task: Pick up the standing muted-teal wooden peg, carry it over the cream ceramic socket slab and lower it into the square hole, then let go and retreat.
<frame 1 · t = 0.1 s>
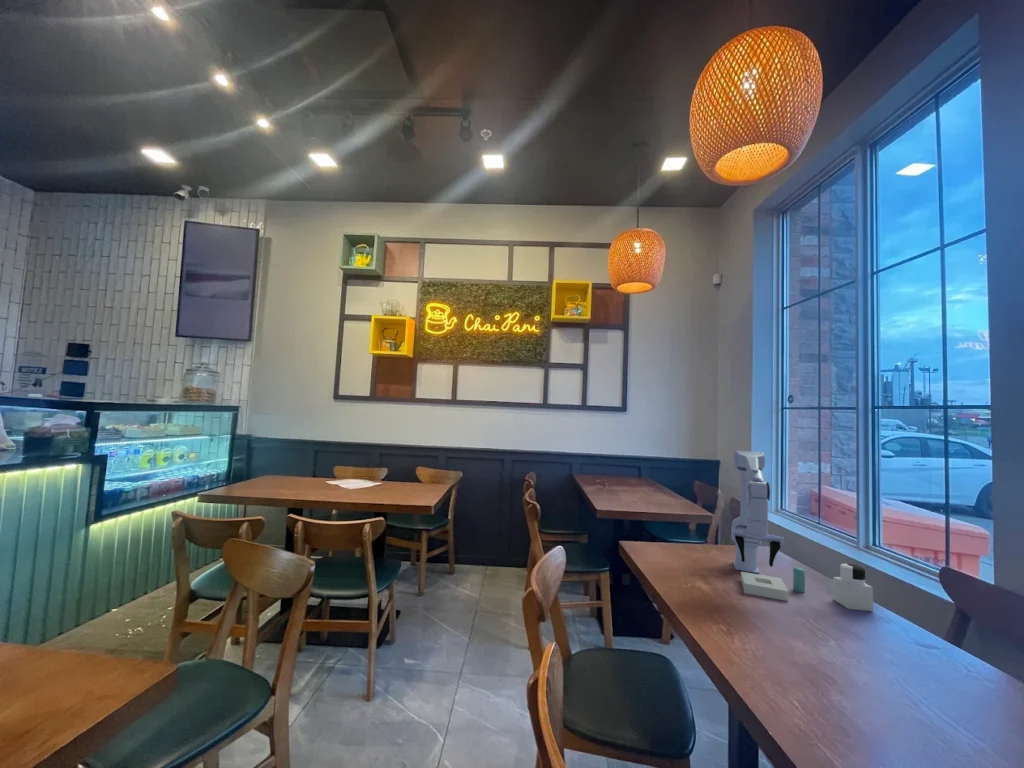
hand: (756, 563, 136), 10 cm above the table, fingers open, 7 cm apart
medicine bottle: (852, 606, 132), on the table
socket slab: (763, 590, 141), on the table
peg: (798, 590, 142), on the table
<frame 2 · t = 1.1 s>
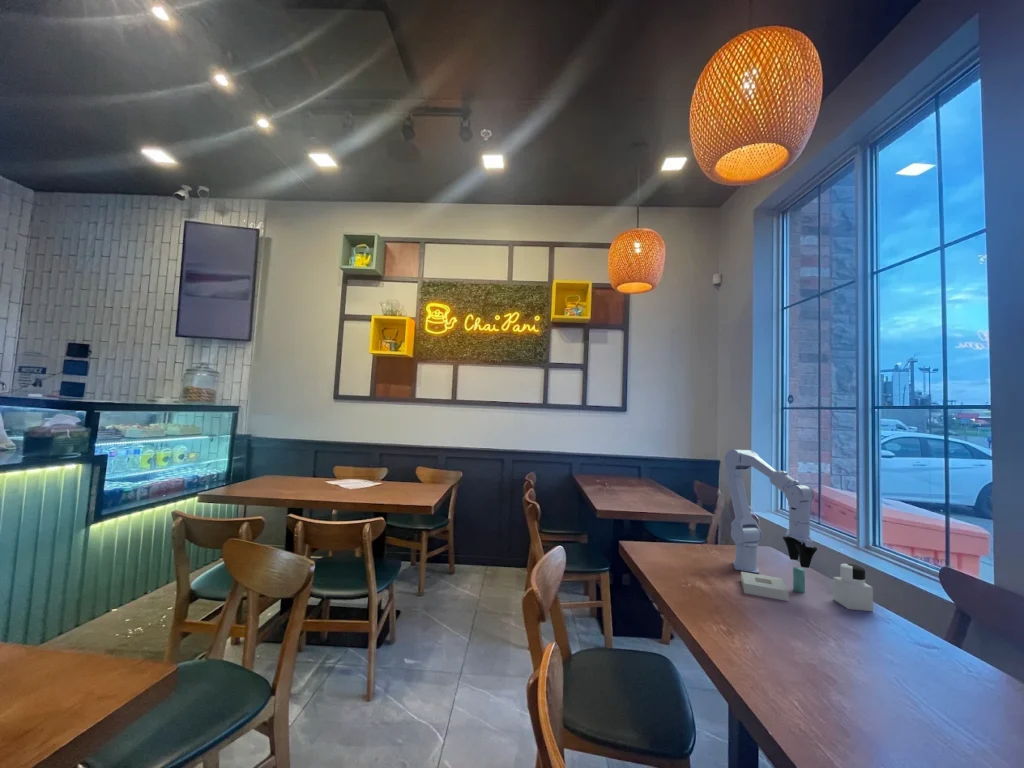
hand: (799, 563, 143), 9 cm above the table, fingers open, 7 cm apart
nothing on the table moved.
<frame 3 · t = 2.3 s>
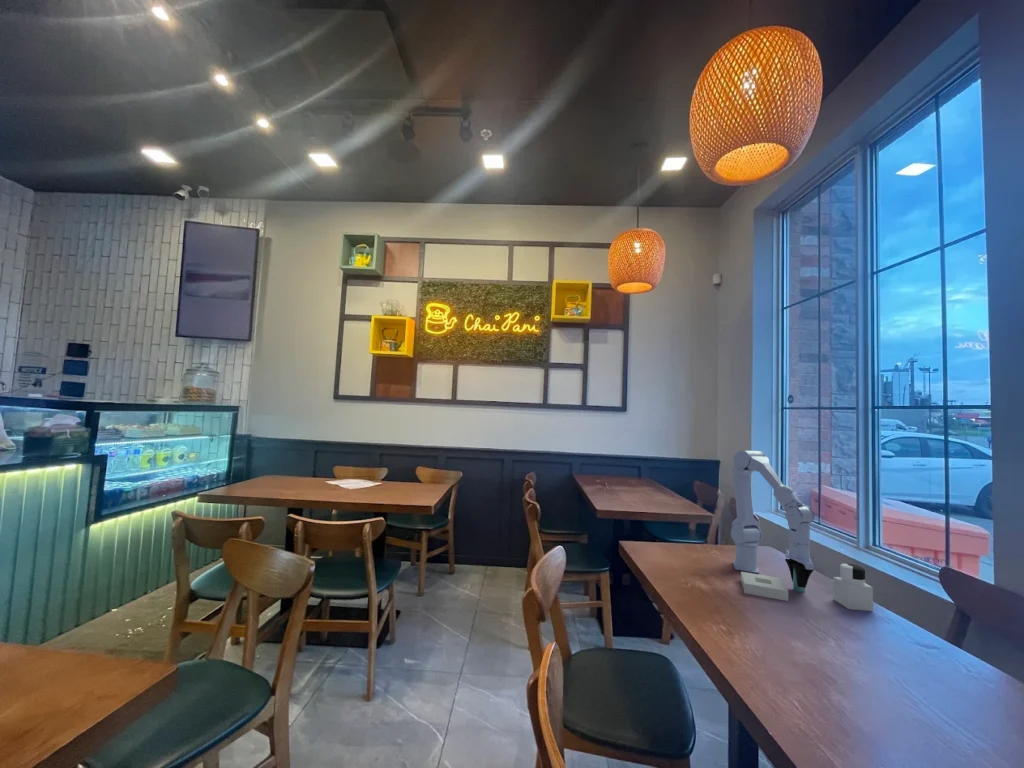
hand: (799, 584, 142), 2 cm above the table, fingers closed on peg, 3 cm apart
peg: (798, 590, 142), on the table, touching gripper
everything else where it was.
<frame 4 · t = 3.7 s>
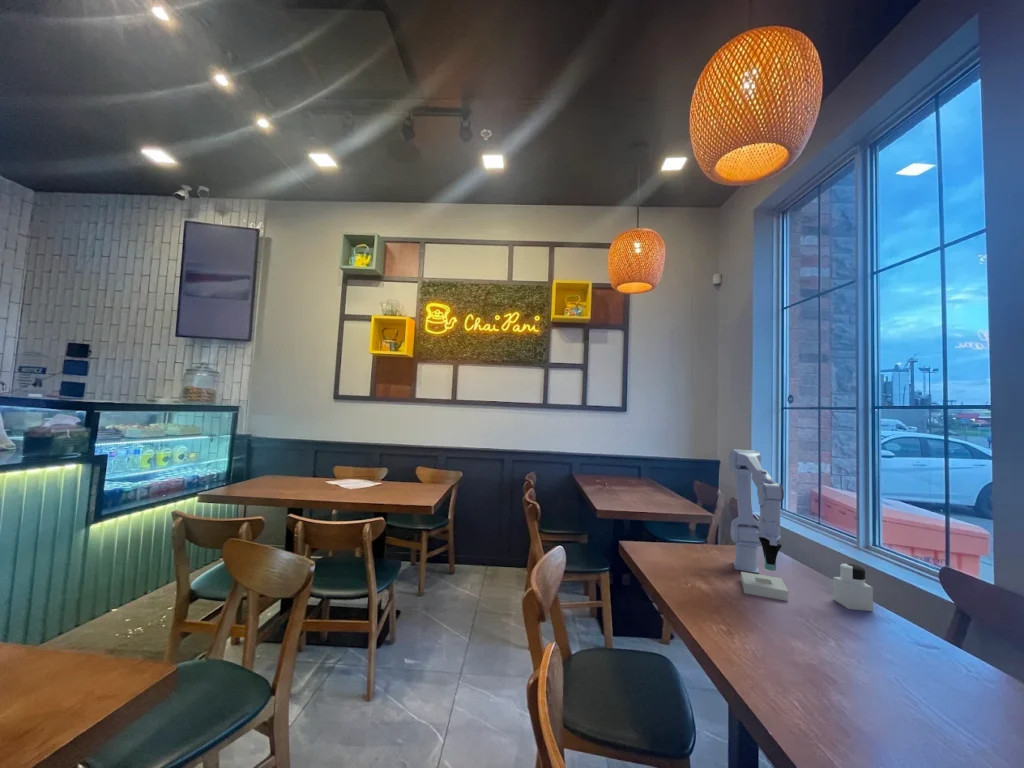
hand: (769, 562, 142), 9 cm above the table, fingers closed on peg, 3 cm apart
peg: (770, 568, 141), point 7 cm above the table, touching gripper
everything else where it was.
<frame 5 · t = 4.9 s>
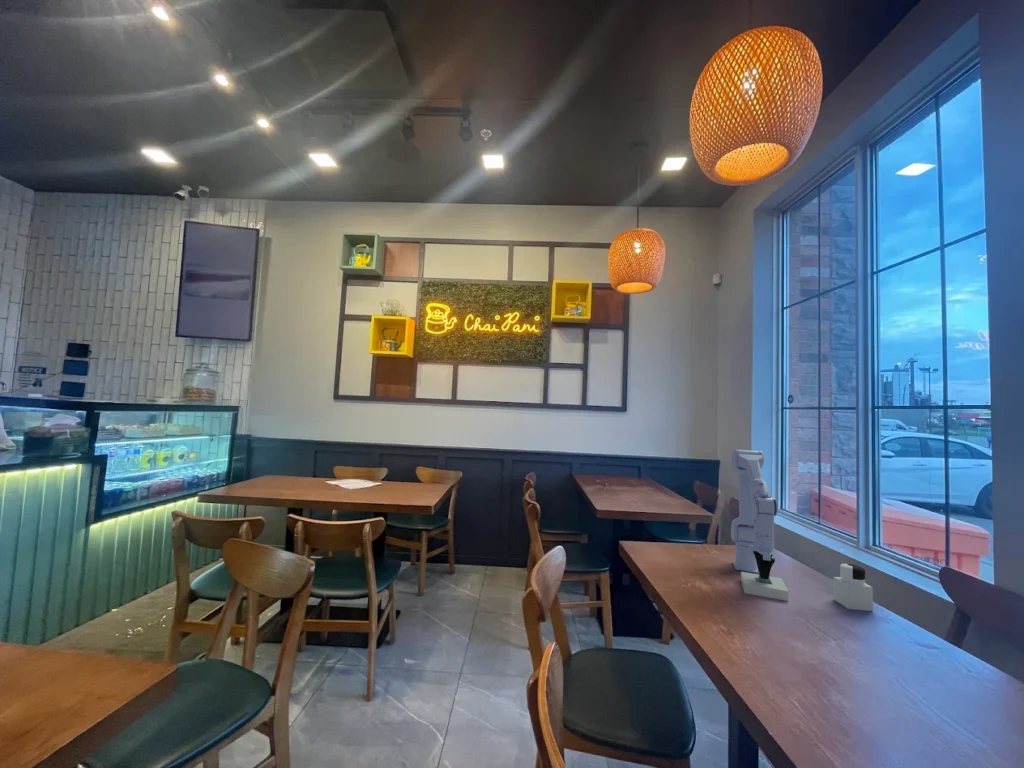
hand: (763, 576, 141), 4 cm above the table, fingers closed on peg, 3 cm apart
peg: (764, 583, 141), point 2 cm above the table, touching gripper
everything else where it was.
when the fingers open (4 cm above the table, at t = 5.4 s): peg drops 2 cm, resting in socket slab.
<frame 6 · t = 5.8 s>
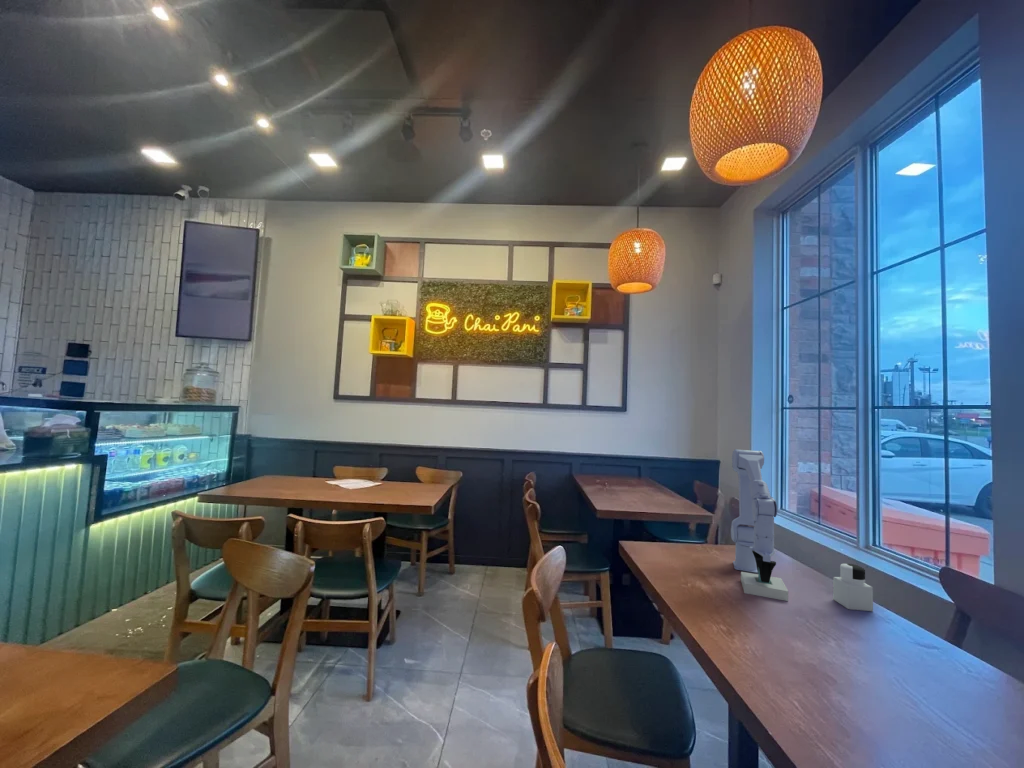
hand: (763, 577, 141), 4 cm above the table, fingers open, 7 cm apart
peg: (763, 590, 141), resting in socket slab
everything else where it was.
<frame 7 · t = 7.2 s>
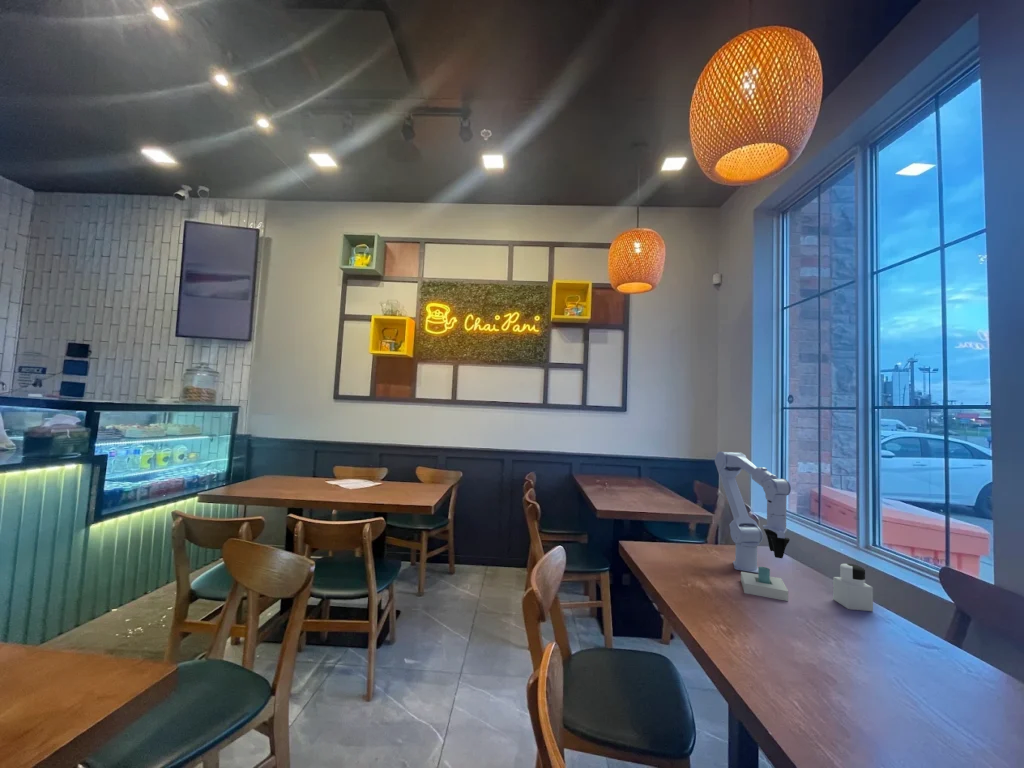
hand: (776, 554, 148), 10 cm above the table, fingers open, 7 cm apart
nothing on the table moved.
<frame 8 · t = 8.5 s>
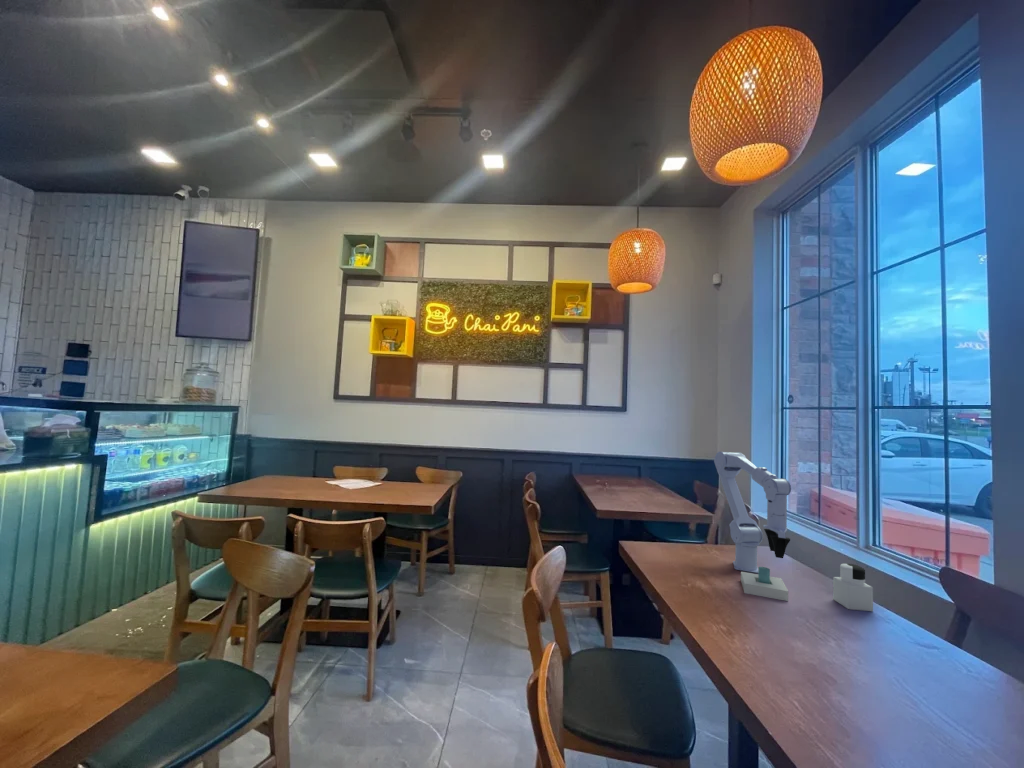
hand: (776, 554, 148), 10 cm above the table, fingers open, 7 cm apart
nothing on the table moved.
at the end: peg 0.2 cm off-centre on the socket slab, point 0.0 cm above the socket slab's base; peg tilted 0°; the gripper is holding nothing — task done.
